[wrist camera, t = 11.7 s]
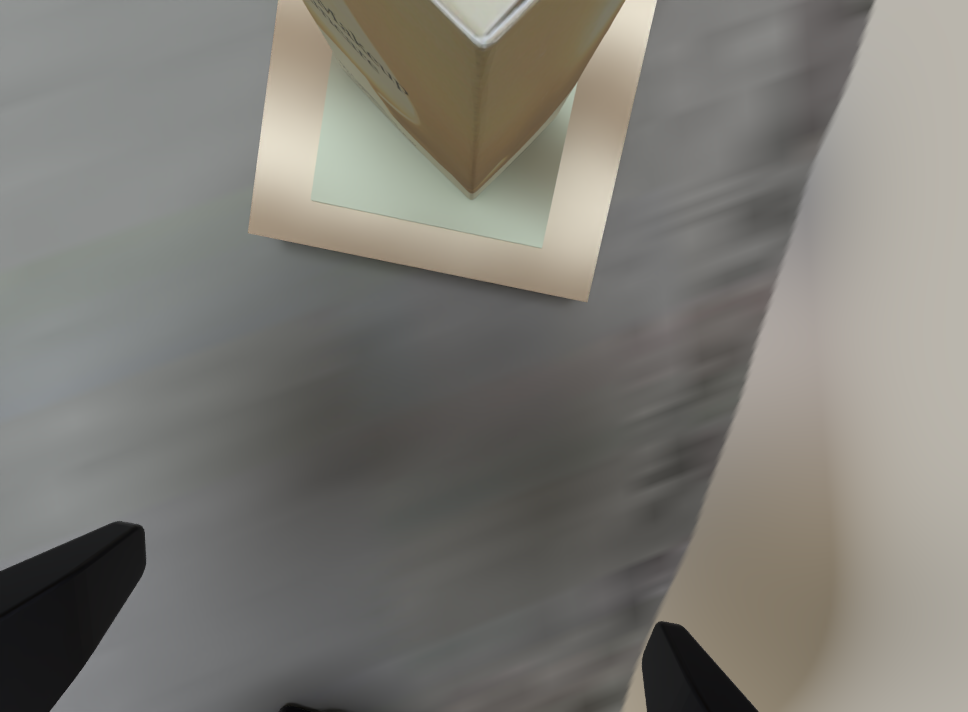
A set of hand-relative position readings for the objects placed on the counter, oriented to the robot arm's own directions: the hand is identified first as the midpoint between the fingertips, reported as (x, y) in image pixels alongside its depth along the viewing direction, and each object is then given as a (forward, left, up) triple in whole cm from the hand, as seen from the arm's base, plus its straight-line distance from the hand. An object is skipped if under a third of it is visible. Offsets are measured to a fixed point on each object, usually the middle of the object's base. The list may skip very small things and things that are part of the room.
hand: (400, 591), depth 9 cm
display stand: (+11, +3, -13) cm, 17 cm away
